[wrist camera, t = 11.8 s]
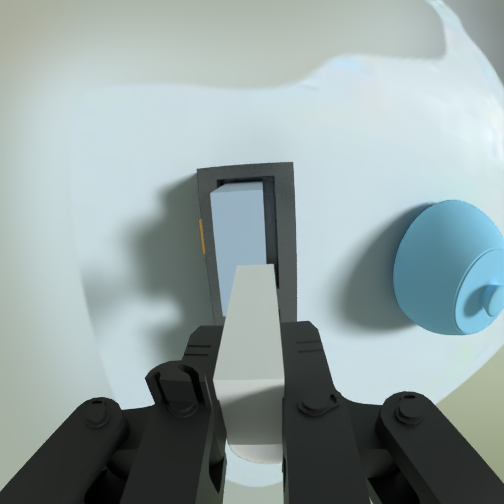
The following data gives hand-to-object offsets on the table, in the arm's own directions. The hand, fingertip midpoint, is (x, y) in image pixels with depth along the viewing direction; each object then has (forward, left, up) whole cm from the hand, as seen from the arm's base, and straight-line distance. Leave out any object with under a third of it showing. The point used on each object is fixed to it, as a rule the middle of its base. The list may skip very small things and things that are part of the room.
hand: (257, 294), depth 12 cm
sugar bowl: (+6, +21, -17) cm, 27 cm away
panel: (0, -1, -15) cm, 15 cm away
